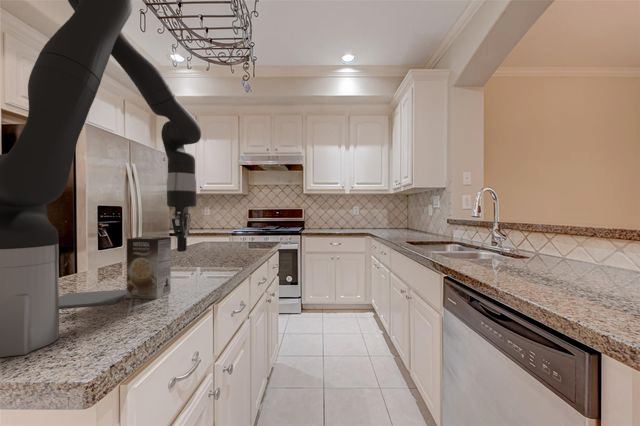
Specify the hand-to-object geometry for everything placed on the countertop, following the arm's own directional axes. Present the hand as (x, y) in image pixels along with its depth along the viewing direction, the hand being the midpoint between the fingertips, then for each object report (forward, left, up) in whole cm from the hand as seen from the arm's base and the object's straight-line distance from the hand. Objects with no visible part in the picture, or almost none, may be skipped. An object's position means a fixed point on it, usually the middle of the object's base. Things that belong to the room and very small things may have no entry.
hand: (182, 251), depth 80 cm
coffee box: (0, +8, -12) cm, 15 cm away
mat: (0, +22, -12) cm, 25 cm away
